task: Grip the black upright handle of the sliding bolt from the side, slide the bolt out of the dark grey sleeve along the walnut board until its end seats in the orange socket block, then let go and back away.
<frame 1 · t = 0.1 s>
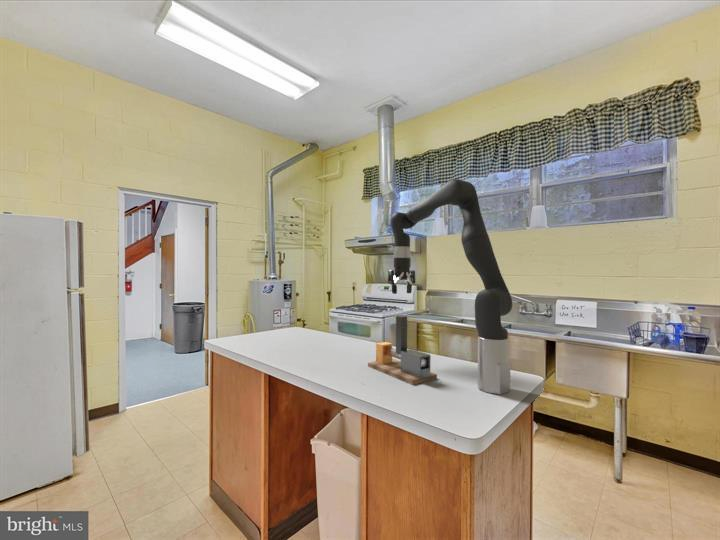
hand: (401, 293, 145), 29 cm above the table, tool pointing down, fingers open, 8 cm apart
base board: (400, 372, 124), on the table
socket block: (384, 362, 133), resting on base board
sliding bolt: (407, 339, 121), point 13 cm above the table, slide at 0.0 cm
guide sleeve: (415, 373, 118), resting on base board
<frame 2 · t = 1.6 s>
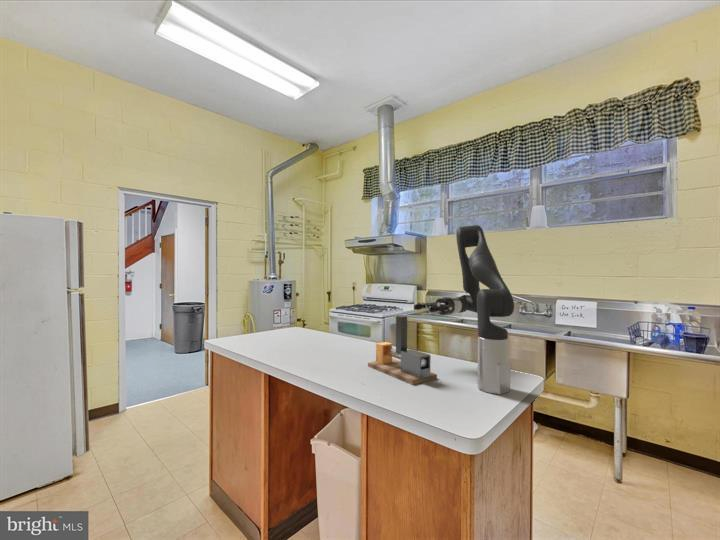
hand: (422, 308, 130), 24 cm above the table, tool horizontal, fingers open, 8 cm apart
nothing on the table moved.
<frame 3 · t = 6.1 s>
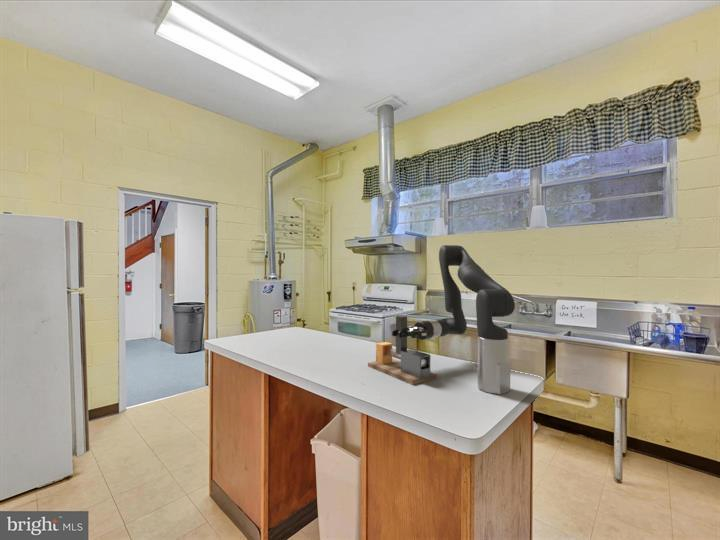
hand: (395, 334, 122), 15 cm above the table, tool horizontal, fingers closed on sliding bolt, 3 cm apart
sliding bolt: (407, 339, 121), point 13 cm above the table, slide at 0.0 cm, touching gripper
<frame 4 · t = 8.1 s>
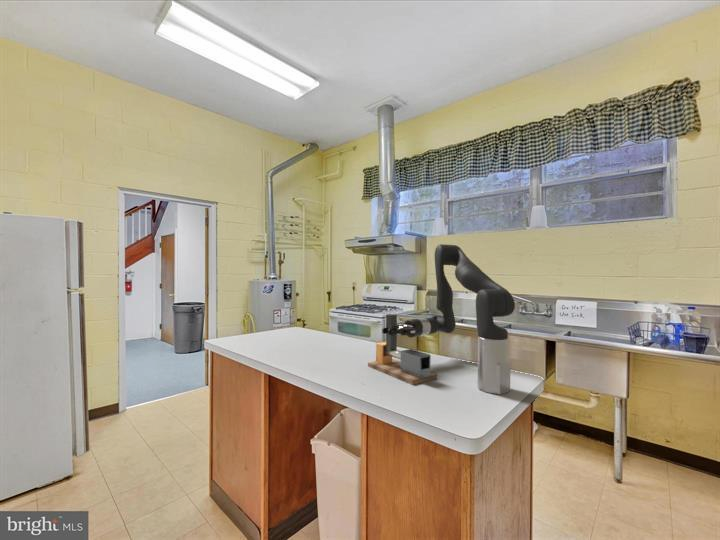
hand: (385, 331, 127), 15 cm above the table, tool horizontal, fingers closed on sliding bolt, 3 cm apart
sliding bolt: (396, 336, 126), point 13 cm above the table, slide at 6.0 cm, touching gripper
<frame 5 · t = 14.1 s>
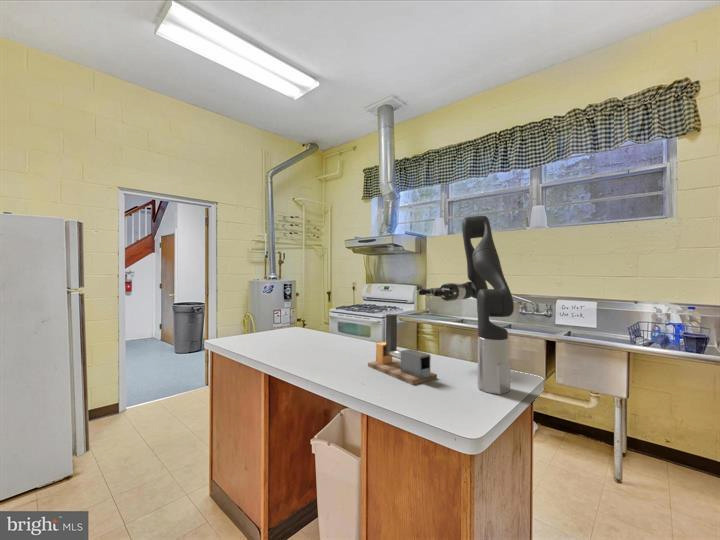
hand: (426, 293, 133), 30 cm above the table, tool horizontal, fingers open, 8 cm apart
sliding bolt: (396, 336, 126), point 13 cm above the table, slide at 6.0 cm
at the end: sliding bolt slide at 6.0 cm; the gripper is holding nothing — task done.
